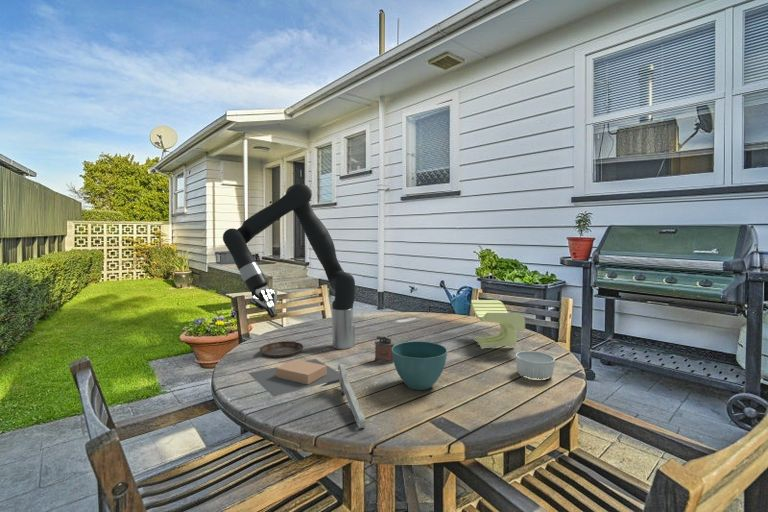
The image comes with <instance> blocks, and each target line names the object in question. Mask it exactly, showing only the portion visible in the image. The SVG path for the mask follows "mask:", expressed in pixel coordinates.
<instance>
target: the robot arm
mask: <svg viewBox="0 0 768 512" xmlns="http://www.w3.org/2000/svg"><path fill="white" fill-rule="evenodd" d="M312 195H313V192H312V190H311V188H310V186H308V185H307V184H304V183H301V182H300V183H299V182H298V183H295V184H292V185H290V186H289V187H288V188H287V189H286V191H285V194H284V195H283V196H282V197H281V198H279V199H278V200H276V201H275V202H273V203H271V204H269V205H268V206H266V207H264V208H263V209H261V210H259V211H257V212H256V213H254V214H253V215H251V216H250V217H248V218H247V219H245V220H244V222H243V223H242V225H241V226H240V227H238V228H237V229H236V228H228V229H226V230H225V231H224V232H223V234H222V241H223V243H224V245H225V247H226V248H227V249H228V251H229V253H230V255H231V257H232V259H233V261H234V264H235V266H236V268H237V269H238V271H239V274H240V276H241V279H242V280H243V282H244V284H245V286H246V287H247V290H248V292H251V296H252V297H251V299H250V300H249V303H250V304H252V305H253V306H255V307H257V309H260V310H266V312H267V314H268V316H269V317H270V318H271V319H272V318H274V317H277V316H278V311H277V310H276V308H275V304H277V301H278V300H277V297H278V291H277V290H276V289H275V290H272V289H271V287H270V286H269V285H268V280H267V278H266V276H265V274H264V272H263V270H262V269H261V267H260V266H259V264H258V262H257V260H256V259H255V257H254V256H253V253H252V252H251V251H250V249H249V246H248V245H247V244H248V243H249V242H250V241H251V240H252V239H253V238H254V237H255V236H257V235H259V234H260V233H262V232H263V231H265V230H266V229H267V228H268V227H270V226H271V225H273V224H275V222H277V221H278V220H280V219H281V218H283V217H284V216H286V215H287V214H289V213H291V212H292V211H293V212H294V214H295V216H296V217H297V219H298V222H300V225H301V227H302V229H303V232H304V234H305V236H306V238H307V240H308V242H309V244H310V246H311V247H312V248H311V249H313V250H312V251H314V255H316V258H317V260H318V261H319V262H320V264H321V265H322V267H323V270H324V272H325V275H326V278H327V280H328V283H329V285H330V287H331V289H332V290H333V291H334V300H333V301H332V304H331V311H332V312H331V315H332V316H331V317H332V319H331V322H332V324H331V326H332V327H331V328H332V329H331V330H332V332H331V333H332V335H331V338H332V339H331V340H332V348H334V349H337V350H346V349H351V348H353V347H354V346H356V324H354V304H355V300H356V299H355V297H356V281H355V278H354V276H353V275H352V274H350V273H349V272H345V271H344V270H343V268H342V266H341V264H340V262H339V260H338V258H337V254H336V247H335V243H334V240H333V238H332V236H331V235H330V232H329V231H328V229H327V226H325V224H324V223H323V222H322V220H320V218H319V217H318V216H317V215H316V213H315V212H314V210H313V208H312V206H311V203H310V202H311V200H312Z"/></svg>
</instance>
